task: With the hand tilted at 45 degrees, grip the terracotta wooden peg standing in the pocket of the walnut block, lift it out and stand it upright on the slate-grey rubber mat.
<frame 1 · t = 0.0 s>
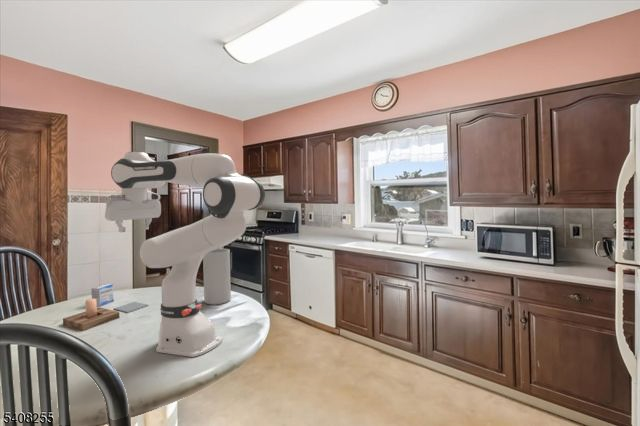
hand: (134, 230, 121), 39 cm above the table, tool pointing down, fingers open, 8 cm apart
medicine box: (103, 303, 152), on the table
pocket block: (92, 321, 131), on the table
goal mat: (131, 307, 146), on the table
cylinder vase: (217, 301, 155), on the table
peg: (91, 310, 131), in the pocket block
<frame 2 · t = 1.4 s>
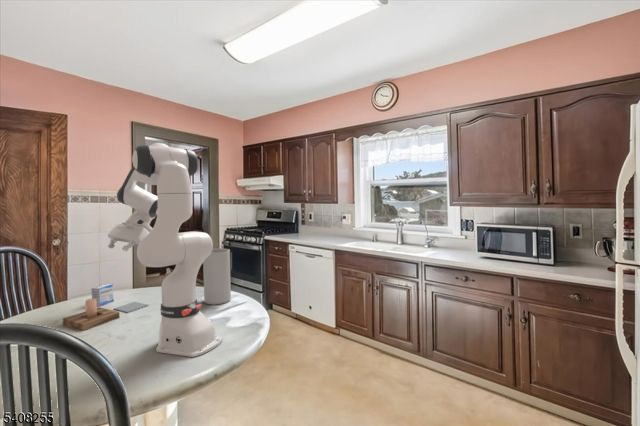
hand: (116, 248, 139), 29 cm above the table, tool tilted 45°, fingers open, 8 cm apart
nothing on the table moved.
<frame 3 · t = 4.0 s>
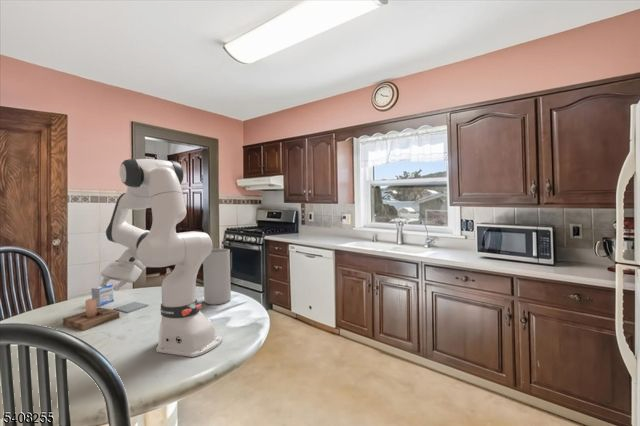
hand: (108, 288, 137), 12 cm above the table, tool tilted 45°, fingers open, 8 cm apart
nothing on the table moved.
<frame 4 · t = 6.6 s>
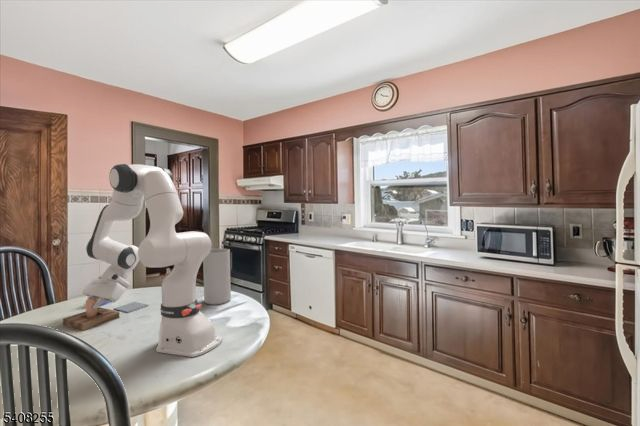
hand: (89, 307, 130), 6 cm above the table, tool tilted 45°, fingers closed on peg, 4 cm apart
peg: (91, 310, 131), in the pocket block, touching gripper
everything else where it was.
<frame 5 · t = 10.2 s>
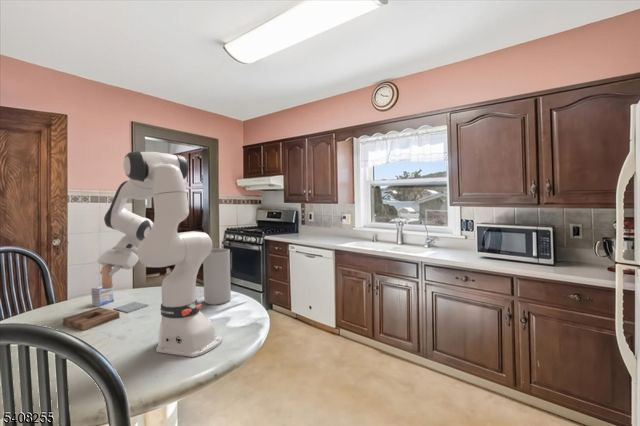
hand: (105, 274, 135), 18 cm above the table, tool tilted 45°, fingers closed on peg, 4 cm apart
peg: (106, 277, 136), point 17 cm above the table, touching gripper
everything else where it was.
when the fingers open (8 cm above the table, at t = 13.8 s): peg drops 1 cm, resting on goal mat.
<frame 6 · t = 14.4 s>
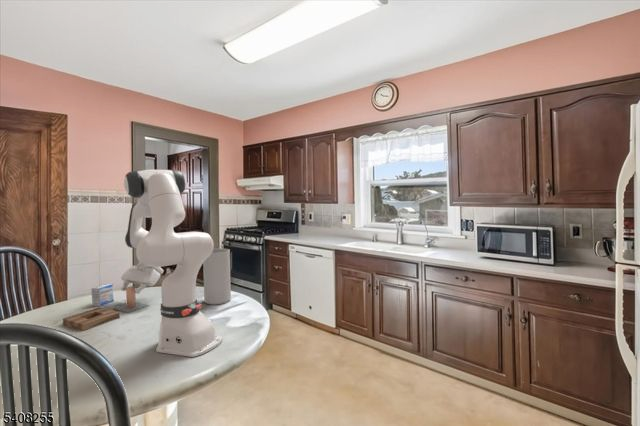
hand: (129, 291, 145), 8 cm above the table, tool tilted 45°, fingers open, 8 cm apart
peg: (131, 297, 146), on the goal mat
everything else where it was.
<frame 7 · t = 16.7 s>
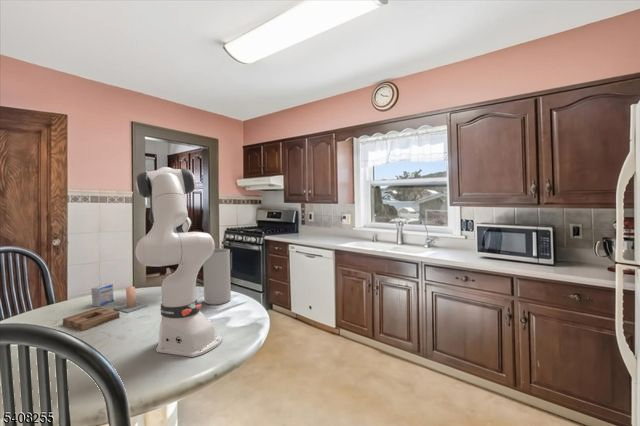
hand: (152, 264, 156), 18 cm above the table, tool tilted 45°, fingers open, 8 cm apart
nothing on the table moved.
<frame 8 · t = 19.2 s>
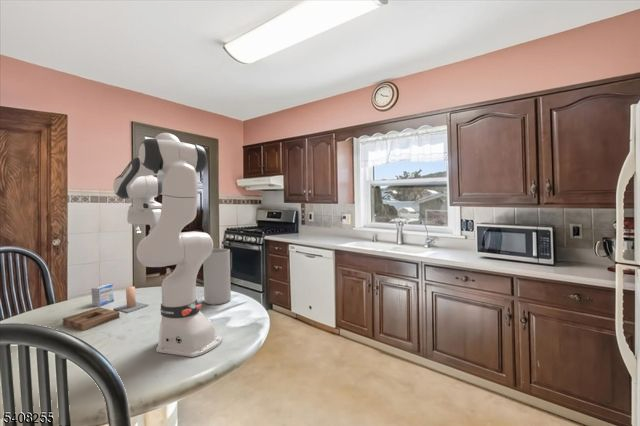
hand: (144, 233, 148), 34 cm above the table, tool pointing down, fingers open, 8 cm apart
nothing on the table moved.
at the end: peg inside the target area on the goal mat (0.0 cm from its centre), point 5.0 cm above the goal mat's base; peg tilted 0°; the gripper is holding nothing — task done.
